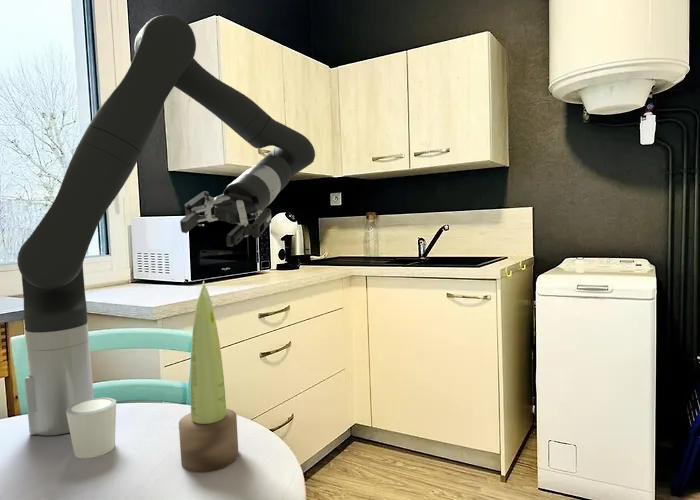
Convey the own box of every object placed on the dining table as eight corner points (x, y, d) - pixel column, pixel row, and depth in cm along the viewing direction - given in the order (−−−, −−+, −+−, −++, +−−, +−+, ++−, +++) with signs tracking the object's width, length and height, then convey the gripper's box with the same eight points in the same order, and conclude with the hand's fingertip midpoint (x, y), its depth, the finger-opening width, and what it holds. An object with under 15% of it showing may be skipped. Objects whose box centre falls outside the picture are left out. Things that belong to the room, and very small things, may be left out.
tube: (237, 416, 74) (230, 282, 72) (209, 429, 70) (201, 288, 68) (211, 408, 77) (203, 280, 75) (183, 420, 73) (174, 285, 71)
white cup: (99, 461, 74) (95, 415, 73) (58, 458, 75) (54, 413, 75) (129, 440, 81) (125, 397, 80) (91, 438, 82) (87, 395, 82)
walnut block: (179, 477, 69) (176, 434, 68) (183, 450, 77) (180, 412, 76) (240, 467, 71) (237, 425, 71) (237, 442, 79) (235, 404, 78)
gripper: (218, 164, 95) (165, 204, 82) (288, 182, 92) (243, 227, 79) (221, 199, 99) (170, 242, 87) (287, 217, 96) (245, 265, 84)
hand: (205, 235), depth 83 cm, fingers open, 8 cm apart
